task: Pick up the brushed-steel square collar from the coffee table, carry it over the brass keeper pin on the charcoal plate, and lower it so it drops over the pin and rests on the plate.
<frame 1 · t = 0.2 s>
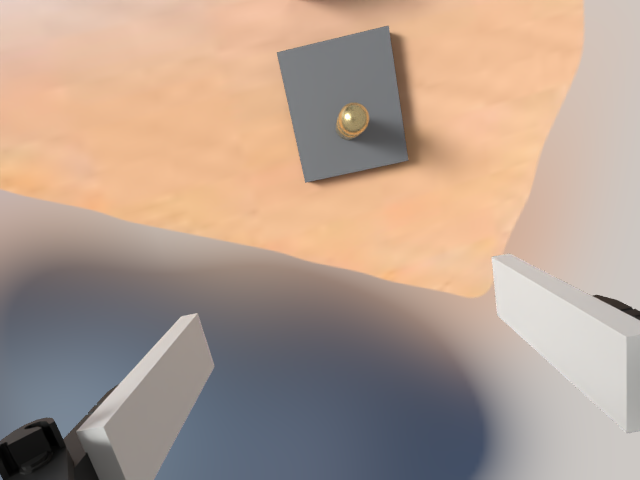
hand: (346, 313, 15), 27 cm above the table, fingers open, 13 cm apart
keeper pin: (347, 128, 39), resting on keeper plate
keeper plate: (344, 110, 39), on the table
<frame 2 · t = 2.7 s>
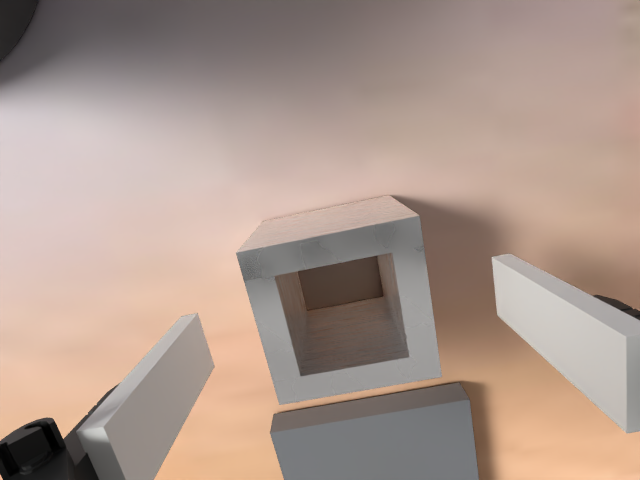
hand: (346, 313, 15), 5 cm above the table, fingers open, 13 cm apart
steel collar: (337, 267, 19), on the table
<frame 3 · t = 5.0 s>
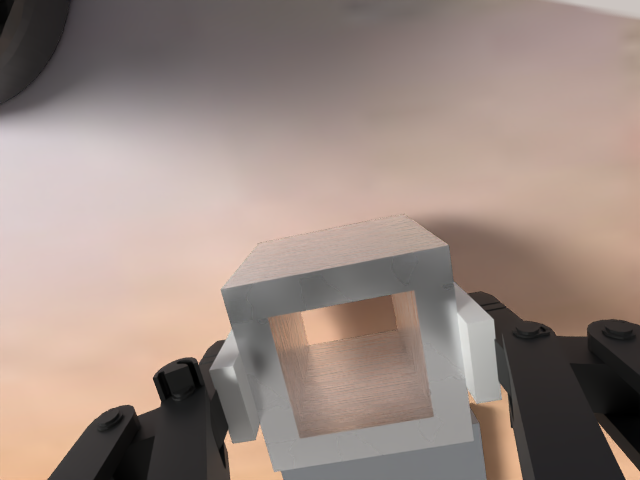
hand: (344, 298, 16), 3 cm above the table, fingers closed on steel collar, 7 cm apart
steel collar: (344, 296, 17), point 3 cm above the table, touching gripper
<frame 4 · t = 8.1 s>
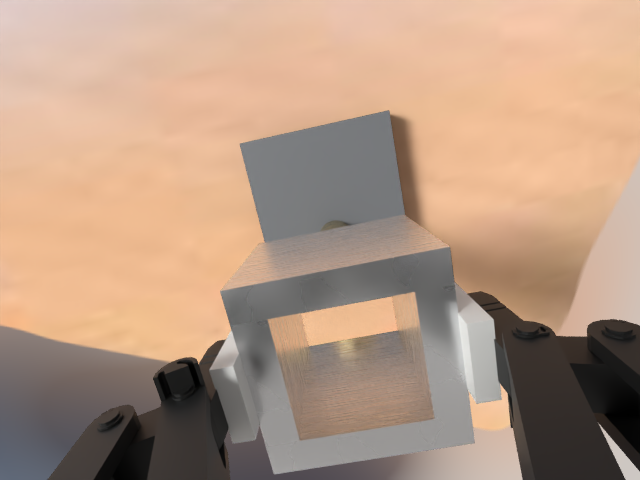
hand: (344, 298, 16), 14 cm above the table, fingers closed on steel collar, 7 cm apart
steel collar: (344, 297, 17), point 14 cm above the table, touching gripper
keeper plate: (330, 210, 30), on the table
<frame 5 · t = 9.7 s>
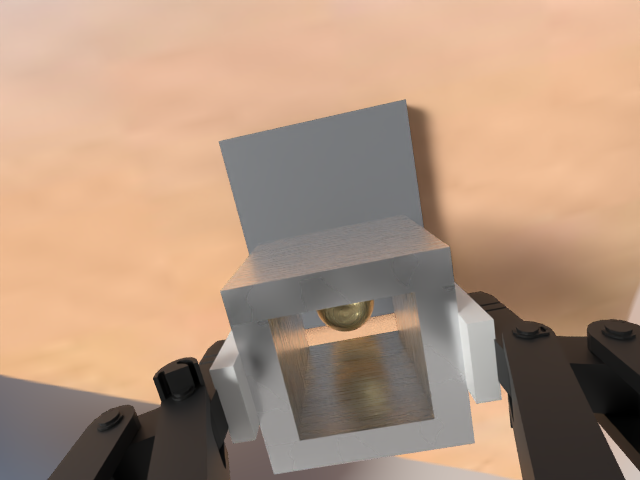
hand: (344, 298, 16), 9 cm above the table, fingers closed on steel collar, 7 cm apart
steel collar: (344, 297, 17), point 8 cm above the table, touching gripper
keeper pin: (337, 249, 25), resting on keeper plate
keeper plate: (332, 223, 24), on the table
when the fingers open (3 cm above the table, at t = 11.2 s): steel collar drops 1 cm, resting on keeper plate.
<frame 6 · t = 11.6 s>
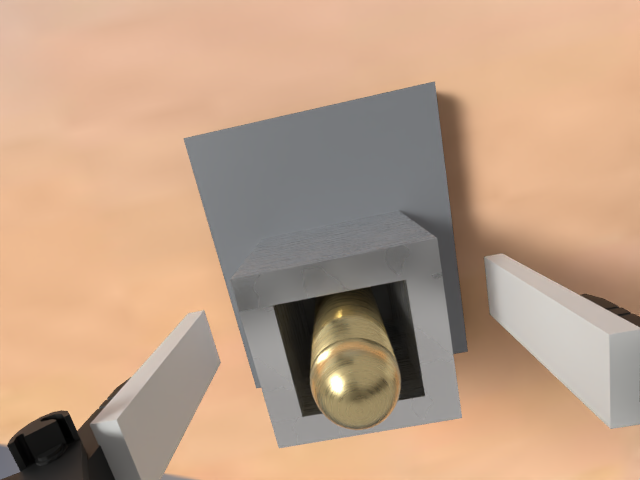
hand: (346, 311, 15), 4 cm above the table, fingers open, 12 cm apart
steel collar: (342, 288, 18), point 1 cm above the table, touching keeper plate
keeper pin: (341, 278, 19), resting on keeper plate
keeper plate: (334, 245, 19), on the table
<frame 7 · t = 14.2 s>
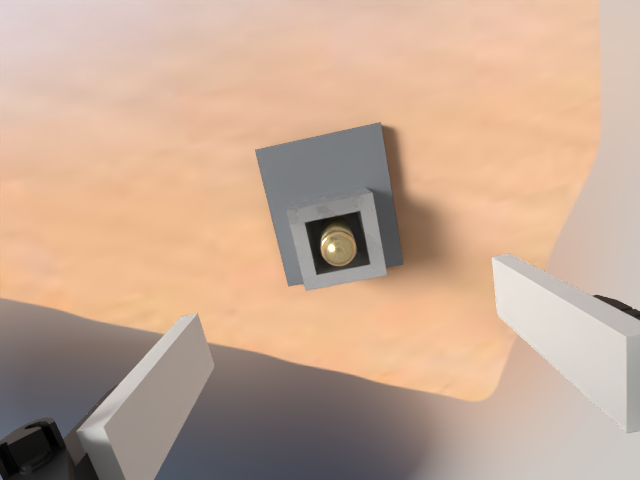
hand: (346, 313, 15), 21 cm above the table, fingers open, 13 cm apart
steel collar: (335, 229, 34), point 1 cm above the table, touching keeper plate
keeper pin: (335, 225, 35), resting on keeper plate
keeper plate: (331, 207, 35), on the table
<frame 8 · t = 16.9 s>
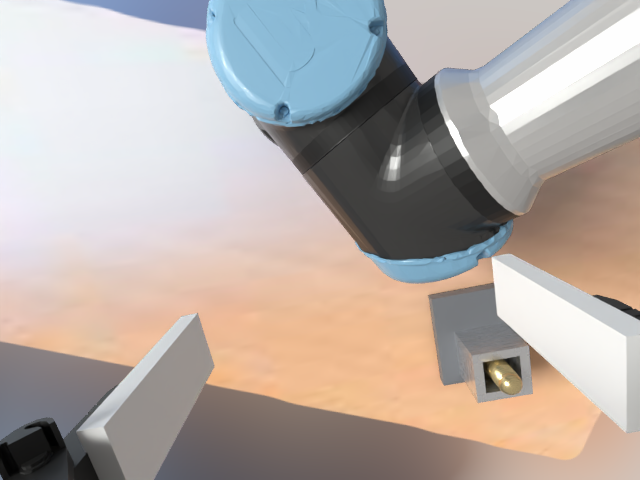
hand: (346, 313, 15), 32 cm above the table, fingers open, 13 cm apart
steel collar: (481, 348, 49), point 1 cm above the table, touching keeper plate
keeper pin: (476, 343, 50), resting on keeper plate
keeper plate: (475, 331, 50), on the table
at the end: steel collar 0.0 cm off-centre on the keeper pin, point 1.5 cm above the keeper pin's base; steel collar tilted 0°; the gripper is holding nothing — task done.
